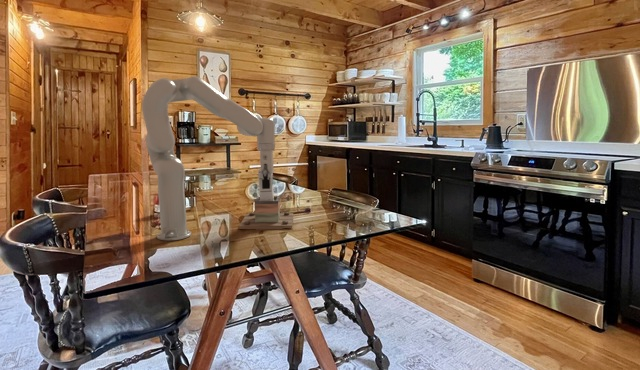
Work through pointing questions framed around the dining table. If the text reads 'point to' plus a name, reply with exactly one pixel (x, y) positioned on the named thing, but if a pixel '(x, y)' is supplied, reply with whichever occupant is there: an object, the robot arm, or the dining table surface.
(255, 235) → the dining table surface
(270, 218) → the metal block on plate
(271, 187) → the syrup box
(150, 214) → the dining table surface
